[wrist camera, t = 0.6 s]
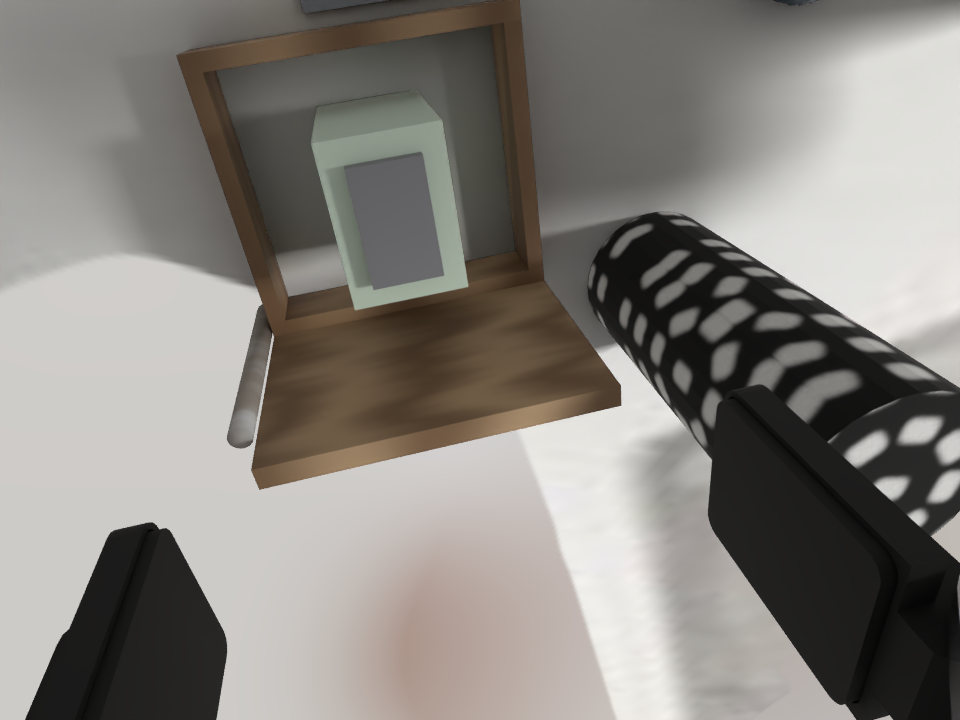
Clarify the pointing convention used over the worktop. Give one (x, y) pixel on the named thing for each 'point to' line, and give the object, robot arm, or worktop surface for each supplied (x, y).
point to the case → (404, 324)
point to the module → (389, 197)
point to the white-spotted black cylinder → (776, 357)
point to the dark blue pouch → (796, 2)
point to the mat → (331, 4)
